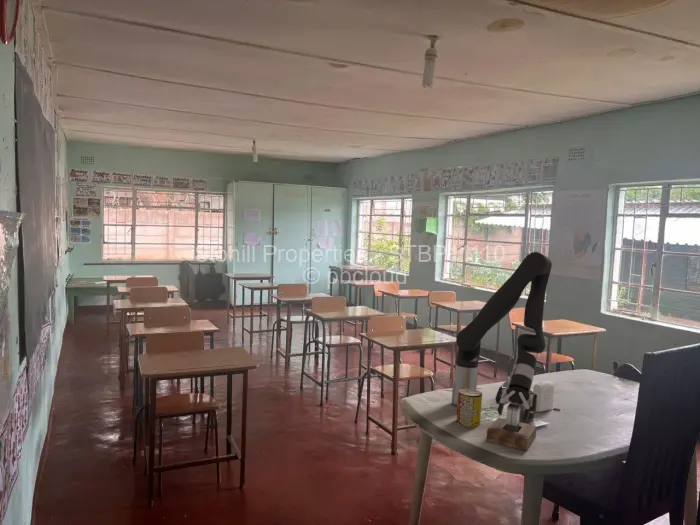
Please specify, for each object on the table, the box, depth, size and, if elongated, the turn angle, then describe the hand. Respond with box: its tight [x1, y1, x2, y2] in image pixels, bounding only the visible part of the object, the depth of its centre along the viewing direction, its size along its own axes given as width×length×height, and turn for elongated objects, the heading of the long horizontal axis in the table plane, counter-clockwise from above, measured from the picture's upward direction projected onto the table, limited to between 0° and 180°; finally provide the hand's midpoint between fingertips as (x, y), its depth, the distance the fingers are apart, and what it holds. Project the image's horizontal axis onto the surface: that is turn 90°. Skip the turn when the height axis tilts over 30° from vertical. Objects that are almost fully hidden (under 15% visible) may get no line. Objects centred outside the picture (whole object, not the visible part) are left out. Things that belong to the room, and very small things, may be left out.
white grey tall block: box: [505, 403, 521, 432], centre depth 189 cm, size 4×4×11 cm
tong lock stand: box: [485, 416, 538, 452], centre depth 190 cm, size 14×15×4 cm
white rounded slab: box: [532, 380, 555, 413], centre depth 223 cm, size 10×4×12 cm, turn 123°
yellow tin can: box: [456, 389, 483, 428], centre depth 204 cm, size 9×9×12 cm
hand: (511, 417), depth 189 cm, fingers open, 8 cm apart
